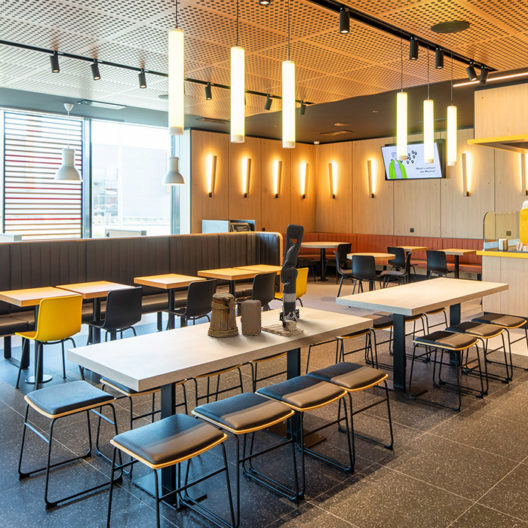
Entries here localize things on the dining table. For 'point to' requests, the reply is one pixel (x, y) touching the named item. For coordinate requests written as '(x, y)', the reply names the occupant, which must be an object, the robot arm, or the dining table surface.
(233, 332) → the tankard
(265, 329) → the board
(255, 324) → the wooden block
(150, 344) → the dining table surface
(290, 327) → the sanding block
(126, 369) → the dining table surface
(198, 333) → the dining table surface
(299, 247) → the robot arm
